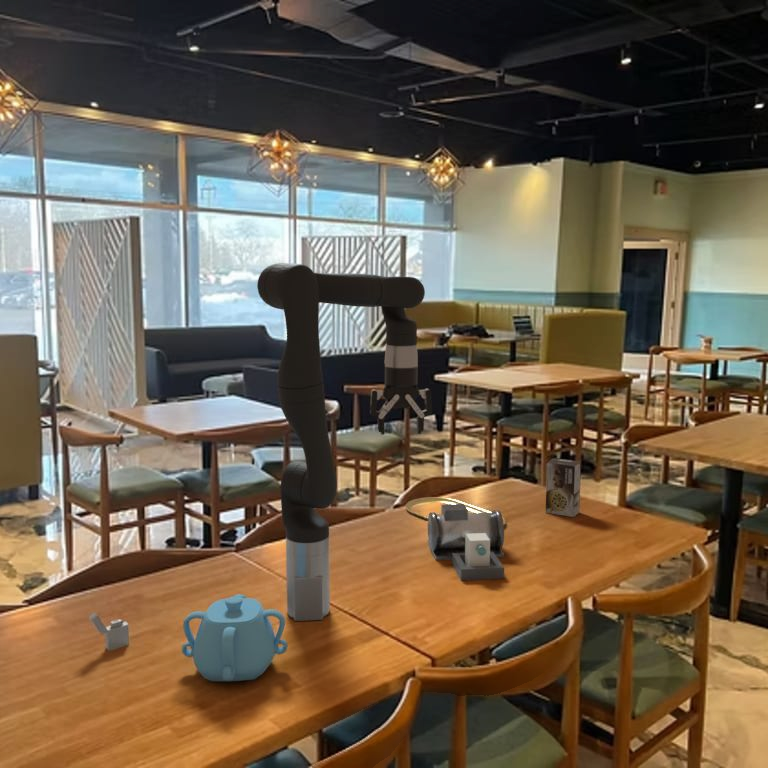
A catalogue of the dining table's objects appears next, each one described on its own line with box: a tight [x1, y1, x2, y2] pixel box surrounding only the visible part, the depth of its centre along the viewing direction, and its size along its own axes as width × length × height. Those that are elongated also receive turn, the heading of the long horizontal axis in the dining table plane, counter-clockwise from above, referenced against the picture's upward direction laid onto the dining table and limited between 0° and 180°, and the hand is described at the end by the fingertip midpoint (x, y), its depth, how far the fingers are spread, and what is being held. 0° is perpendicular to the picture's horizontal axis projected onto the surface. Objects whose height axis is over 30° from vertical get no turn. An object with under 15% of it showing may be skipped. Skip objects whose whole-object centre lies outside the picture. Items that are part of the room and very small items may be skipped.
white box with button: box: [465, 533, 490, 567], centre depth 185 cm, size 7×5×8 cm
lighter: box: [88, 612, 130, 652], centre depth 147 cm, size 7×2×8 cm, turn 130°
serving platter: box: [405, 496, 506, 526], centre depth 228 cm, size 19×35×2 cm, turn 38°
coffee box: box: [545, 457, 582, 518], centre depth 231 cm, size 9×6×16 cm
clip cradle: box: [451, 551, 505, 582], centre depth 188 cm, size 13×11×3 cm
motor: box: [427, 503, 505, 561], centre depth 200 cm, size 12×18×12 cm, turn 97°
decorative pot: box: [181, 593, 289, 682], centre depth 140 cm, size 16×16×14 cm
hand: (400, 433), depth 175 cm, fingers open, 8 cm apart
